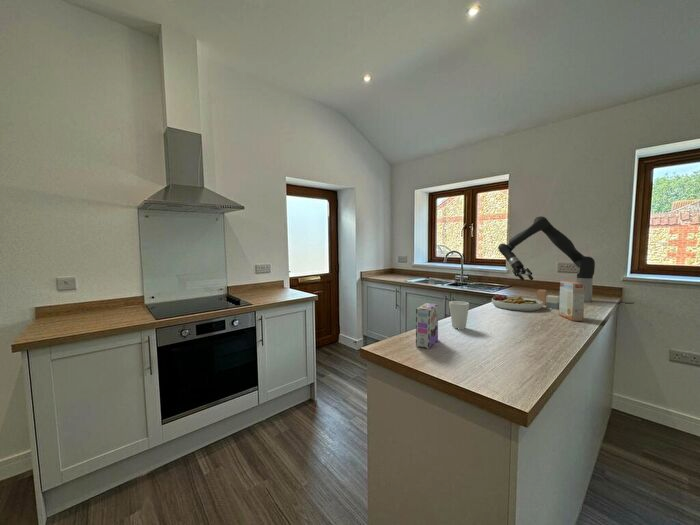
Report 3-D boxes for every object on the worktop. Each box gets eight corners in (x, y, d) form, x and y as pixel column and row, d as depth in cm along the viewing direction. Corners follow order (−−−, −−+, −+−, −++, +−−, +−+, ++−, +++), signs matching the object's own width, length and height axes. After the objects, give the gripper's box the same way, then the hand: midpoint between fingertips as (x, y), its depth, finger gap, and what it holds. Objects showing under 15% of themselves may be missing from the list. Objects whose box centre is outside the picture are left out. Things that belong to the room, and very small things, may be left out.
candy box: (429, 349, 117) (429, 309, 116) (415, 346, 120) (415, 307, 119) (438, 340, 128) (438, 303, 128) (425, 337, 132) (425, 302, 131)
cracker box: (584, 321, 156) (585, 283, 155) (571, 321, 157) (572, 283, 156) (570, 315, 170) (571, 280, 169) (558, 315, 171) (559, 280, 170)
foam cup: (448, 329, 145) (448, 303, 144) (449, 324, 153) (449, 300, 152) (469, 331, 141) (469, 305, 140) (468, 326, 150) (468, 301, 149)
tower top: (548, 301, 195) (548, 295, 195) (559, 302, 191) (559, 296, 190) (545, 302, 191) (546, 296, 191) (556, 303, 187) (556, 297, 187)
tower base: (548, 306, 195) (549, 301, 195) (559, 308, 191) (559, 302, 191) (546, 308, 192) (546, 302, 191) (556, 309, 187) (556, 303, 187)
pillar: (539, 303, 207) (539, 289, 206) (546, 304, 203) (546, 290, 203) (537, 304, 204) (537, 290, 203) (544, 305, 201) (544, 290, 200)
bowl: (546, 306, 196) (546, 295, 196) (537, 314, 174) (537, 301, 174) (498, 301, 217) (499, 291, 216) (485, 308, 195) (485, 296, 194)
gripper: (511, 260, 220) (523, 277, 210) (525, 260, 224) (538, 276, 213) (505, 267, 225) (517, 283, 215) (520, 266, 229) (532, 282, 219)
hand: (527, 279), depth 214 cm, fingers open, 8 cm apart
